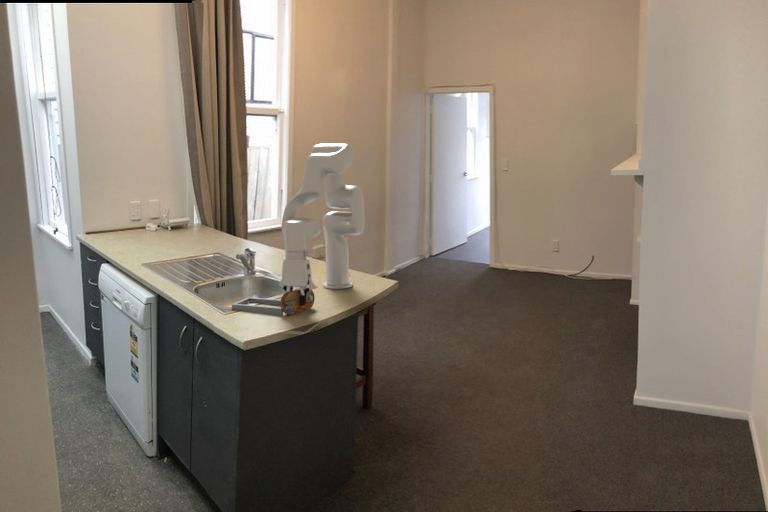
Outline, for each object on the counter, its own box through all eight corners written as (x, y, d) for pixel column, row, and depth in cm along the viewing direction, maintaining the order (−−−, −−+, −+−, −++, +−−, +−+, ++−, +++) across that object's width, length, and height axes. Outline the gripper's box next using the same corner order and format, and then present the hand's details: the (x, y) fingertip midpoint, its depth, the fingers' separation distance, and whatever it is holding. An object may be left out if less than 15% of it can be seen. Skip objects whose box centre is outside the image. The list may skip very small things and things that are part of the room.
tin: (284, 317, 206) (284, 294, 204) (278, 315, 208) (278, 292, 206) (315, 308, 217) (315, 286, 216) (309, 306, 219) (309, 285, 218)
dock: (248, 303, 225) (248, 297, 225) (295, 307, 219) (295, 301, 218) (232, 311, 214) (231, 304, 214) (281, 315, 208) (281, 308, 208)
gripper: (321, 254, 210) (322, 304, 213) (279, 252, 215) (281, 300, 218) (312, 257, 203) (313, 309, 206) (269, 255, 208) (271, 305, 211)
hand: (297, 304), depth 212 cm, fingers closed on tin, 3 cm apart
